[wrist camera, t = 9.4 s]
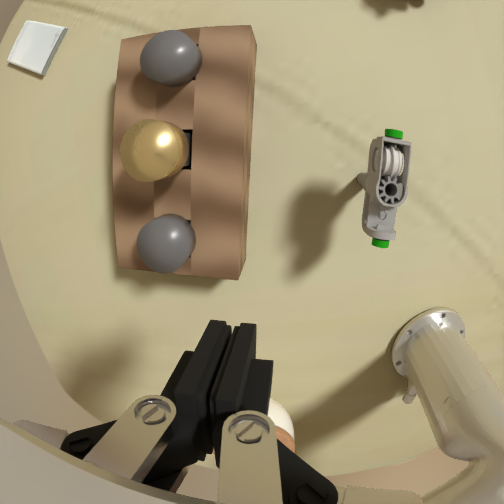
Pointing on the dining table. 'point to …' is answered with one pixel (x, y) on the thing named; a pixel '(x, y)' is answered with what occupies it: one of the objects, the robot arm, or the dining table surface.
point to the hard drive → (36, 46)
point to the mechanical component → (384, 185)
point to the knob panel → (203, 150)
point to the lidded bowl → (281, 424)
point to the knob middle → (155, 150)
